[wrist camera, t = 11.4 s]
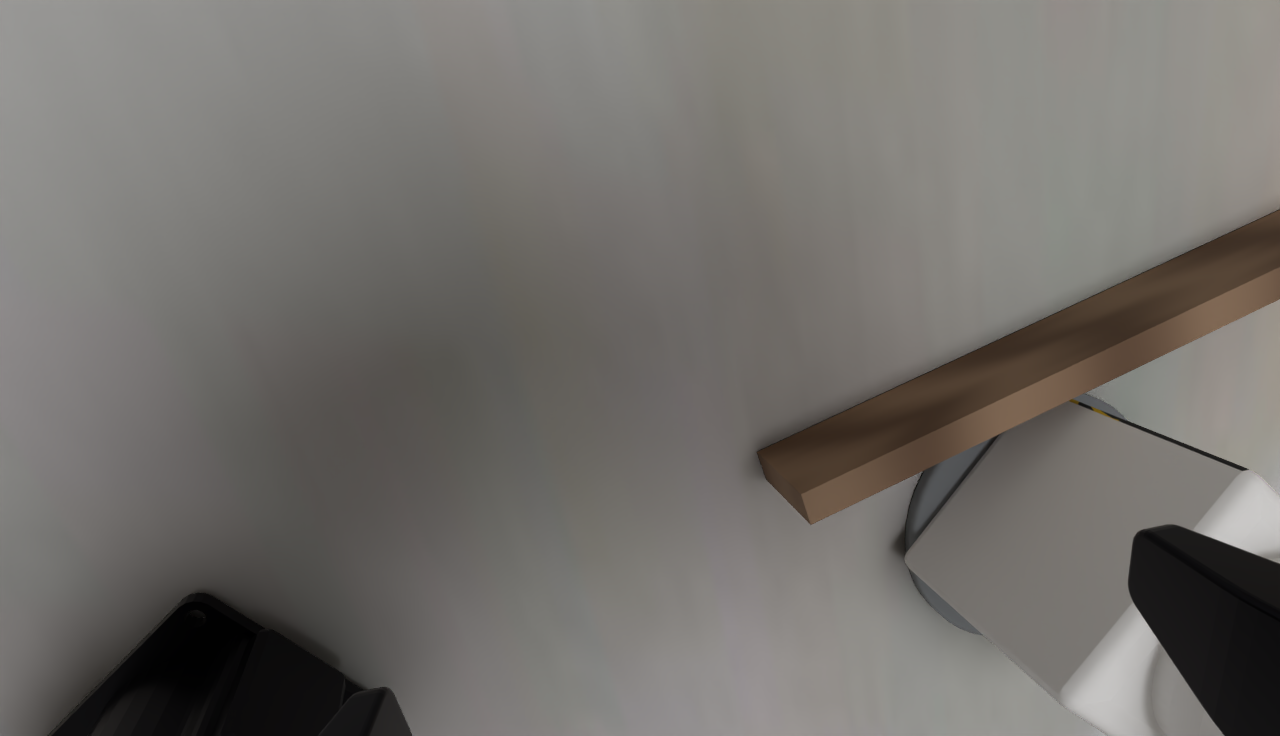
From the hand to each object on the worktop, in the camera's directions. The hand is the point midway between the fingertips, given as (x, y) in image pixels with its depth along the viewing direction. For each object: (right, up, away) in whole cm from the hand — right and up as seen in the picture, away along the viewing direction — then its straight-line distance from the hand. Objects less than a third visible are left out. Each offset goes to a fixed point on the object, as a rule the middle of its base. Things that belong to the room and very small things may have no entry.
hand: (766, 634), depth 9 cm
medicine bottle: (+12, -2, +17) cm, 20 cm away
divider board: (+11, +4, +15) cm, 19 cm away
